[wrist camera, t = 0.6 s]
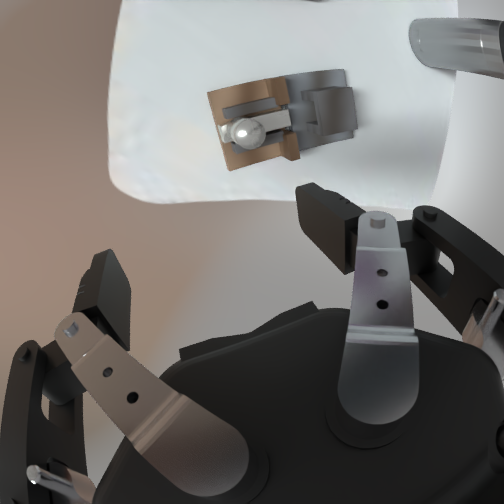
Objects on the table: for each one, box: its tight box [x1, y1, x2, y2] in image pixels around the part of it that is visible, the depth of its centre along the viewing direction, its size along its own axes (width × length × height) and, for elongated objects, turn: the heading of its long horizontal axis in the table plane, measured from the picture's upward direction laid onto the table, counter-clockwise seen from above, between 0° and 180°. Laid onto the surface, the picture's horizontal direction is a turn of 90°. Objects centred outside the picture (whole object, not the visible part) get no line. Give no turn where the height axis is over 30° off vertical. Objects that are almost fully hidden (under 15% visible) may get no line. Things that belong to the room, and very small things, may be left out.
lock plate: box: [207, 69, 358, 171], centre depth 31 cm, size 18×10×5 cm, turn 103°
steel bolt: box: [218, 109, 291, 149], centre depth 29 cm, size 8×3×6 cm, turn 103°
